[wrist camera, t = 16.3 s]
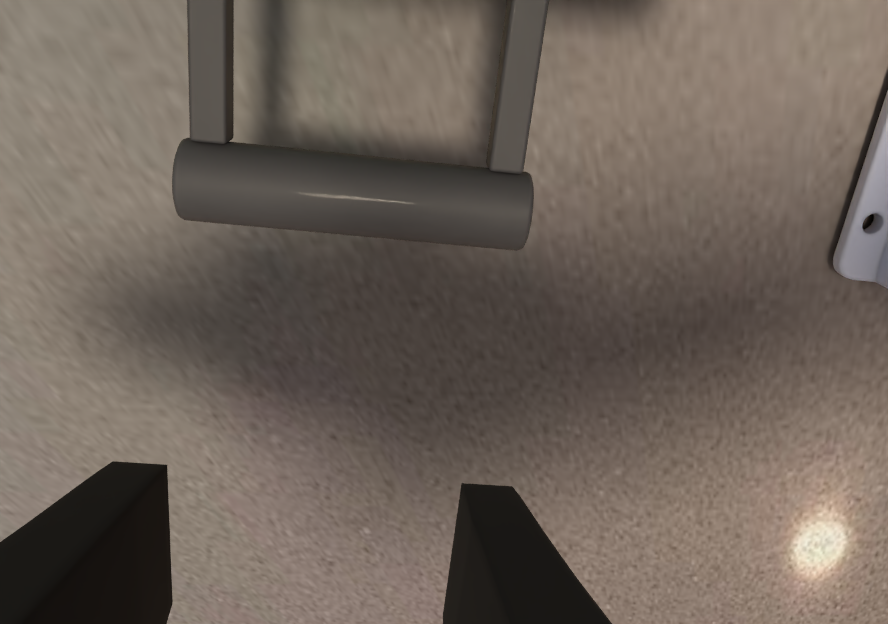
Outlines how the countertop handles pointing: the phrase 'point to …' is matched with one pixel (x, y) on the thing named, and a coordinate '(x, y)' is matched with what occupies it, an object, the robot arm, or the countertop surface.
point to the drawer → (357, 158)
